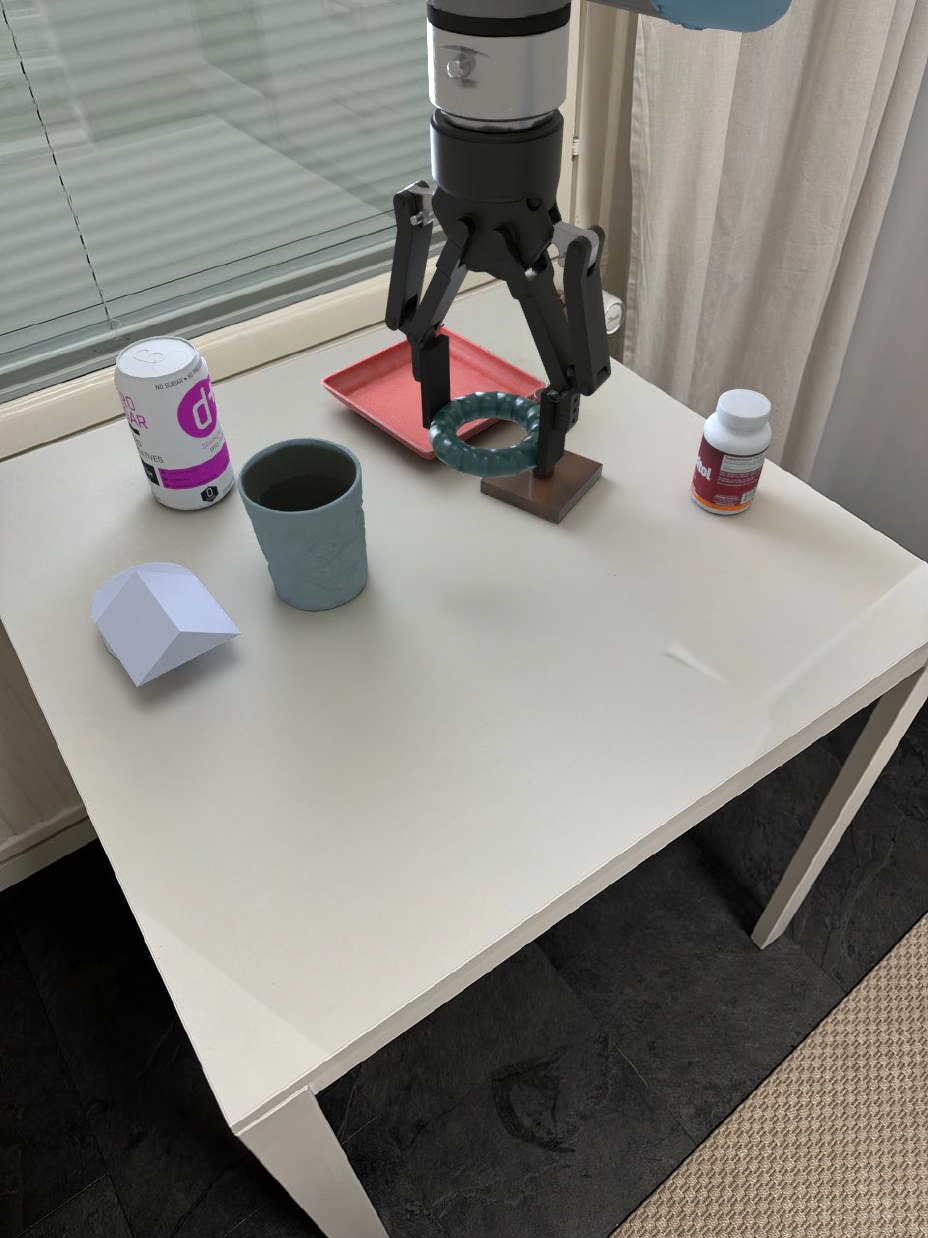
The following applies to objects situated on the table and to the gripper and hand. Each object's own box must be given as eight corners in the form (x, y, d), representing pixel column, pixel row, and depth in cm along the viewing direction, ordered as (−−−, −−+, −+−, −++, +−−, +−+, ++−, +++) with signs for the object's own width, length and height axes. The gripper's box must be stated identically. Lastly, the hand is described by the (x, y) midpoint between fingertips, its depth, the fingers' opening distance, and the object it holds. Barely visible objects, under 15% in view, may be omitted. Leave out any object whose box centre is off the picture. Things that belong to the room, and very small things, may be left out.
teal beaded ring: (576, 432, 67) (579, 409, 66) (512, 499, 62) (512, 476, 60) (474, 395, 71) (474, 372, 69) (404, 456, 65) (403, 433, 64)
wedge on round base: (249, 660, 75) (182, 574, 82) (233, 605, 70) (163, 519, 77) (148, 713, 71) (87, 618, 78) (124, 658, 66) (61, 563, 73)
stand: (601, 475, 91) (613, 386, 84) (557, 524, 86) (565, 434, 79) (526, 446, 95) (531, 358, 87) (480, 491, 90) (480, 402, 82)
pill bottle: (686, 476, 91) (707, 381, 83) (748, 478, 91) (774, 384, 83) (691, 515, 87) (714, 420, 79) (756, 518, 86) (785, 423, 78)
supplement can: (251, 474, 92) (220, 343, 81) (203, 523, 87) (163, 389, 76) (187, 455, 94) (148, 325, 83) (137, 501, 89) (89, 369, 78)
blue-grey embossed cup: (381, 607, 79) (369, 502, 70) (266, 626, 78) (239, 522, 69) (365, 533, 86) (352, 428, 77) (259, 549, 84) (233, 445, 75)
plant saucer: (547, 408, 100) (549, 382, 97) (427, 478, 91) (426, 452, 89) (439, 347, 109) (438, 322, 106) (320, 406, 100) (316, 380, 98)
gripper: (302, 92, 52) (344, 419, 68) (647, 171, 43) (600, 522, 60) (380, 58, 56) (402, 374, 72) (708, 123, 47) (648, 463, 64)
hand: (491, 441), depth 66 cm, fingers closed on teal beaded ring, 9 cm apart
